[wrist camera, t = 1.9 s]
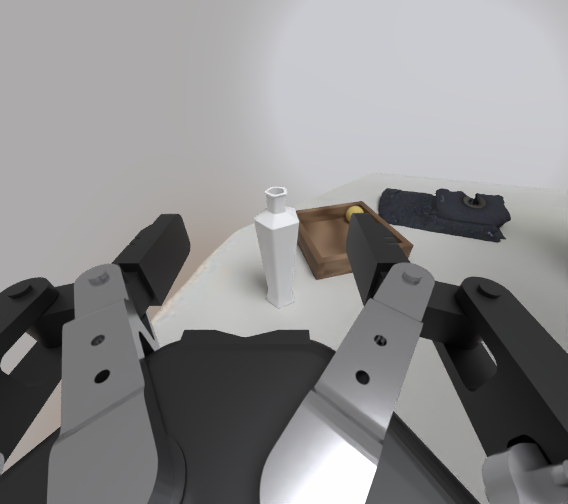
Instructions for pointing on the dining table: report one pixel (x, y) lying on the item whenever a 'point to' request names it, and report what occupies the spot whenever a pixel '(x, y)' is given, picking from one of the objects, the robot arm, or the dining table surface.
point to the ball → (353, 211)
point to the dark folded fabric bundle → (446, 213)
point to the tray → (333, 238)
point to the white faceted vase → (278, 245)
